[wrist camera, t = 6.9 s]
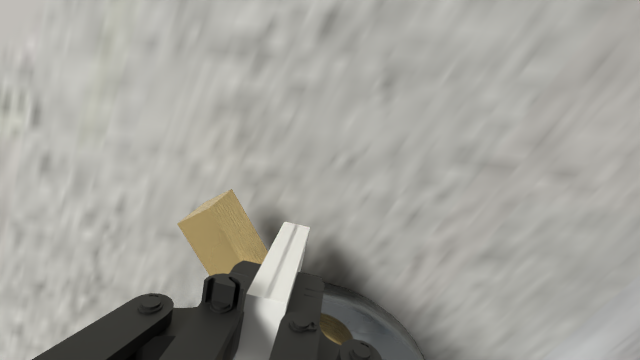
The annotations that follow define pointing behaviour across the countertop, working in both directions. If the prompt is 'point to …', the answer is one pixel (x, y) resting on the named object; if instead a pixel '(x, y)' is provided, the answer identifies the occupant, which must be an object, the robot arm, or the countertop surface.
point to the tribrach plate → (369, 323)
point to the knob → (236, 246)
